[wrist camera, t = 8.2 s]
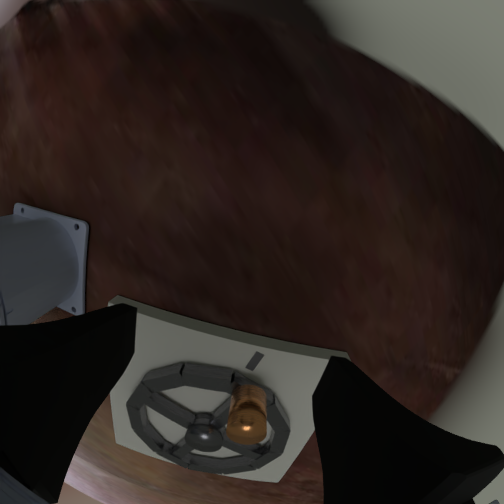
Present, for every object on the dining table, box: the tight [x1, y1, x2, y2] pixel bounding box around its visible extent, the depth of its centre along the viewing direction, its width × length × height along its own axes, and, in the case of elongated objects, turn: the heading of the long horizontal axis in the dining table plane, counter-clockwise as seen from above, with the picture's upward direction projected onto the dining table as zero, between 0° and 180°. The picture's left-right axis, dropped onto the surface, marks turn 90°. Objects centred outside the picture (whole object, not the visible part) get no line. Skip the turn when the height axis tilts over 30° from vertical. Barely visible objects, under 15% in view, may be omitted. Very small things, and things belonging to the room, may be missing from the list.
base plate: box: [108, 295, 351, 482], centre depth 21 cm, size 18×18×2 cm
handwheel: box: [126, 363, 291, 475], centre depth 17 cm, size 14×13×5 cm
